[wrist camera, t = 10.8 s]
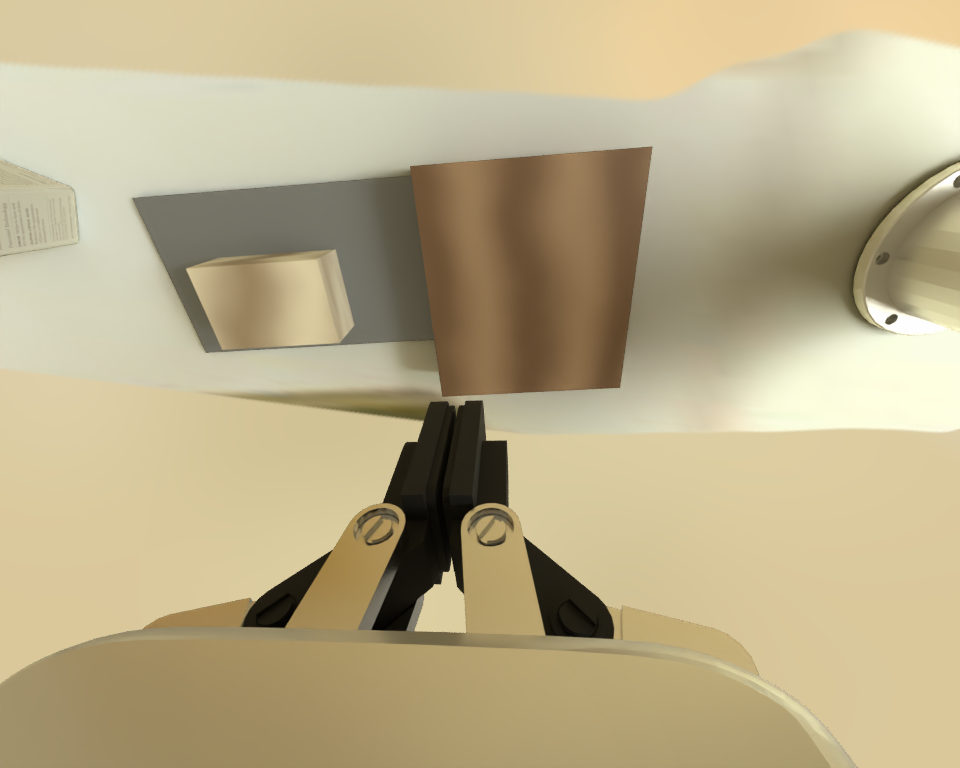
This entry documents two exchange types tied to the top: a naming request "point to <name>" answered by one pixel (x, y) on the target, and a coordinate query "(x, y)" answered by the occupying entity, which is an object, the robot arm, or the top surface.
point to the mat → (306, 246)
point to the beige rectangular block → (274, 299)
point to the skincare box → (34, 212)
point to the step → (531, 268)
